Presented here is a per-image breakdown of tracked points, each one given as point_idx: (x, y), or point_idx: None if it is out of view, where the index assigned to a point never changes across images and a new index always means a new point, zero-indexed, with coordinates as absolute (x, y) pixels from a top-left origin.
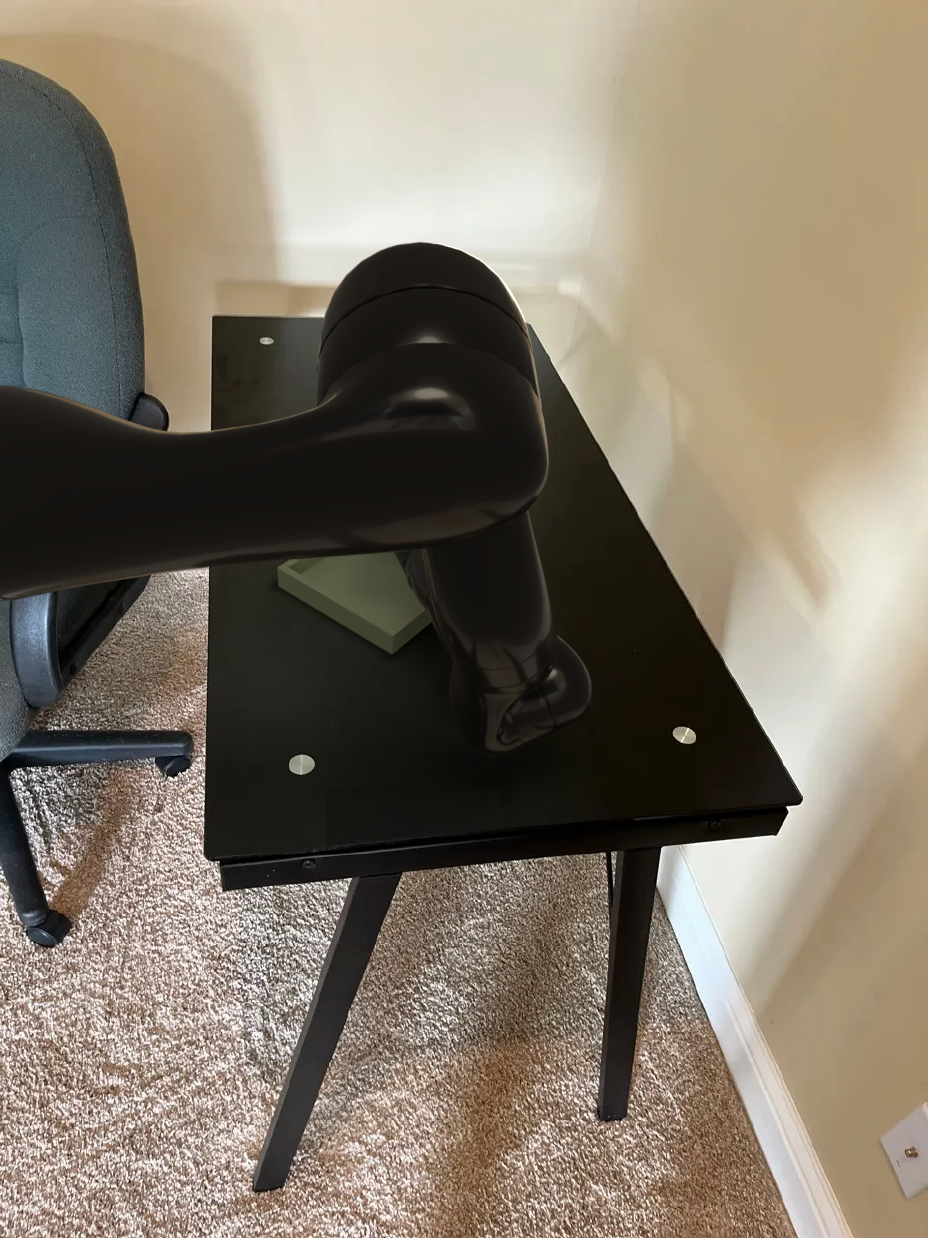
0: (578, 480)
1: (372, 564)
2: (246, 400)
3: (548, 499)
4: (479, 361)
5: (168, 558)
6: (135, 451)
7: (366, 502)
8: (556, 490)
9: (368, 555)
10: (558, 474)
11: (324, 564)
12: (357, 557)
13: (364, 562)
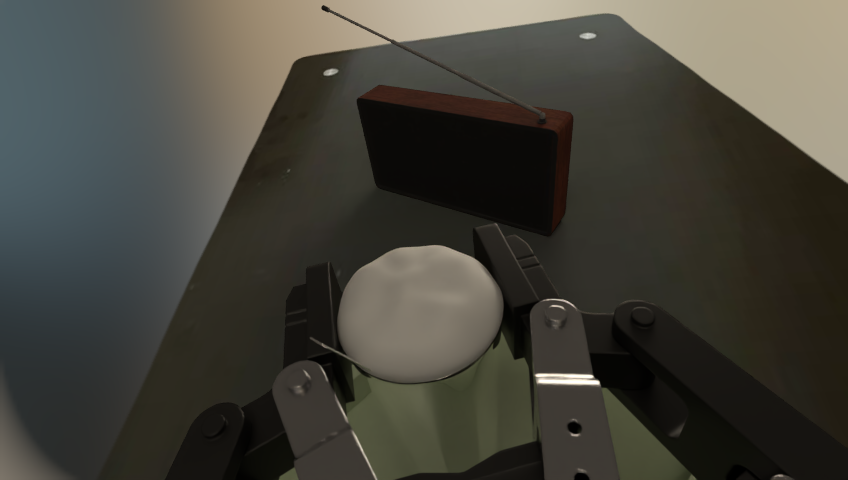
0: (801, 199)
1: (405, 473)
2: (284, 137)
3: (761, 246)
4: None
5: None
6: None
7: None
8: (768, 224)
9: (399, 440)
10: (755, 191)
11: (297, 478)
12: (374, 449)
13: (387, 467)
